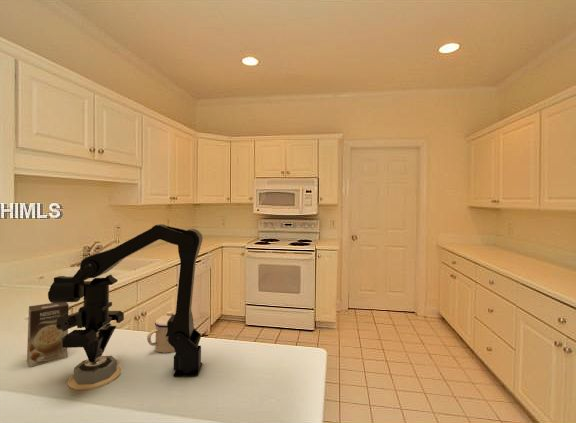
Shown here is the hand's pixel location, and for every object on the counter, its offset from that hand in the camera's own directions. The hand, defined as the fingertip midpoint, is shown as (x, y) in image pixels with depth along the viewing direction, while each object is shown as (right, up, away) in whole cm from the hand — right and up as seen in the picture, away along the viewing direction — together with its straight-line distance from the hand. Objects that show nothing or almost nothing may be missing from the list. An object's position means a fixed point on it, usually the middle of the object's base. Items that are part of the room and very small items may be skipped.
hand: (95, 359), depth 80 cm
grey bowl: (0, -5, 0) cm, 5 cm away
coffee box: (-21, -5, +10) cm, 23 cm away
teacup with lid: (+12, -5, +17) cm, 21 cm away
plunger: (0, -3, 0) cm, 3 cm away
